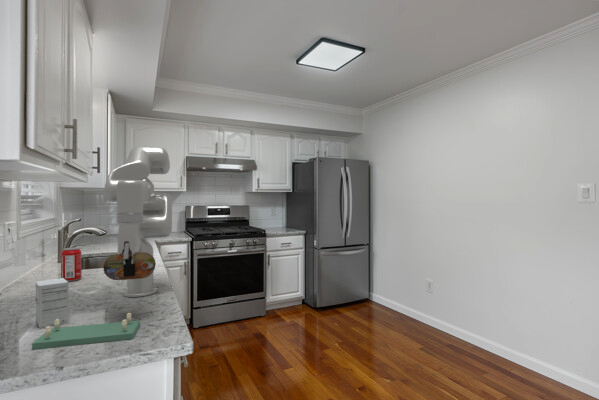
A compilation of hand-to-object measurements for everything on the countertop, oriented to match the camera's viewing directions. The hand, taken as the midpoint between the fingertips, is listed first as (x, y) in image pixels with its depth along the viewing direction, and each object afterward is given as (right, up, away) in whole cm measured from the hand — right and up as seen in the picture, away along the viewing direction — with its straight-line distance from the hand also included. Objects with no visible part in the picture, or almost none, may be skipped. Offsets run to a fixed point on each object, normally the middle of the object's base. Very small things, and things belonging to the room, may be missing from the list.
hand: (130, 274), depth 107 cm
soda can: (-51, -13, +46) cm, 70 cm away
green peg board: (-3, -13, -16) cm, 21 cm away
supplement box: (-21, -14, -6) cm, 26 cm away
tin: (0, -1, 0) cm, 1 cm away
